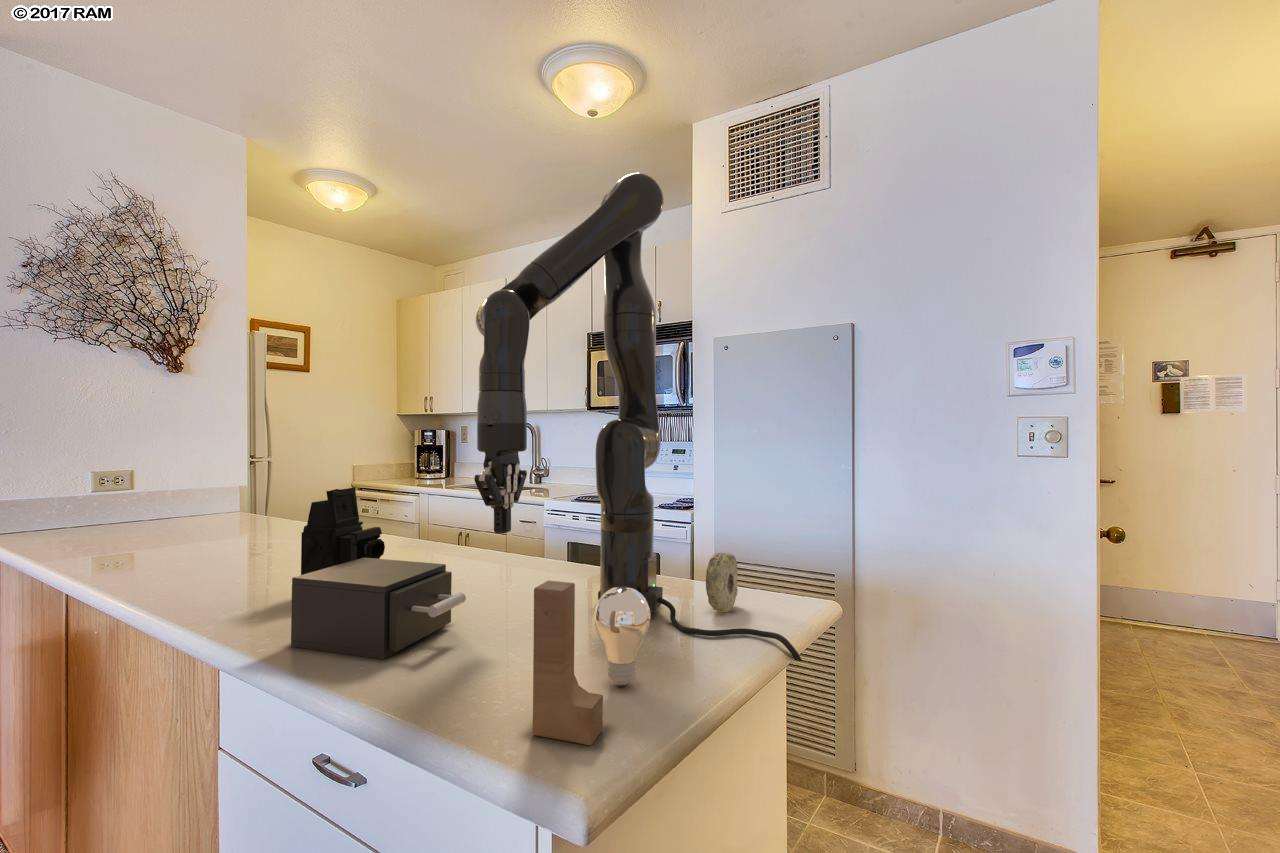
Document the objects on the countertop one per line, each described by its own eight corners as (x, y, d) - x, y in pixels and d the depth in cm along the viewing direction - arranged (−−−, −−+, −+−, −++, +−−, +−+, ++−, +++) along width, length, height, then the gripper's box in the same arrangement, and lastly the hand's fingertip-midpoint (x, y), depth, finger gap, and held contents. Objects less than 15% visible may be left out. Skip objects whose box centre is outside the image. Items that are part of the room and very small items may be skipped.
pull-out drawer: (475, 625, 87) (476, 573, 87) (423, 655, 75) (424, 596, 75) (373, 613, 92) (374, 565, 92) (309, 640, 80) (310, 584, 80)
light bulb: (596, 672, 72) (597, 579, 73) (650, 673, 72) (651, 580, 72) (589, 698, 66) (590, 594, 66) (649, 699, 65) (650, 595, 65)
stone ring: (721, 620, 93) (721, 559, 93) (701, 616, 95) (701, 557, 95) (742, 604, 102) (742, 549, 102) (723, 601, 104) (723, 547, 104)
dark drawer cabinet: (445, 626, 89) (446, 564, 89) (383, 659, 76) (384, 586, 76) (362, 616, 94) (363, 557, 94) (290, 646, 80) (291, 577, 80)
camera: (359, 607, 98) (361, 492, 98) (292, 602, 101) (294, 489, 101) (395, 592, 108) (396, 487, 108) (333, 587, 111) (335, 485, 111)
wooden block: (531, 735, 57) (533, 587, 57) (546, 719, 60) (547, 579, 61) (591, 746, 55) (592, 593, 56) (603, 730, 58) (604, 585, 59)
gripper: (501, 422, 95) (501, 525, 95) (457, 420, 83) (457, 539, 82) (542, 422, 94) (542, 526, 93) (503, 419, 81) (503, 541, 80)
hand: (502, 532), depth 88 cm, fingers closed
